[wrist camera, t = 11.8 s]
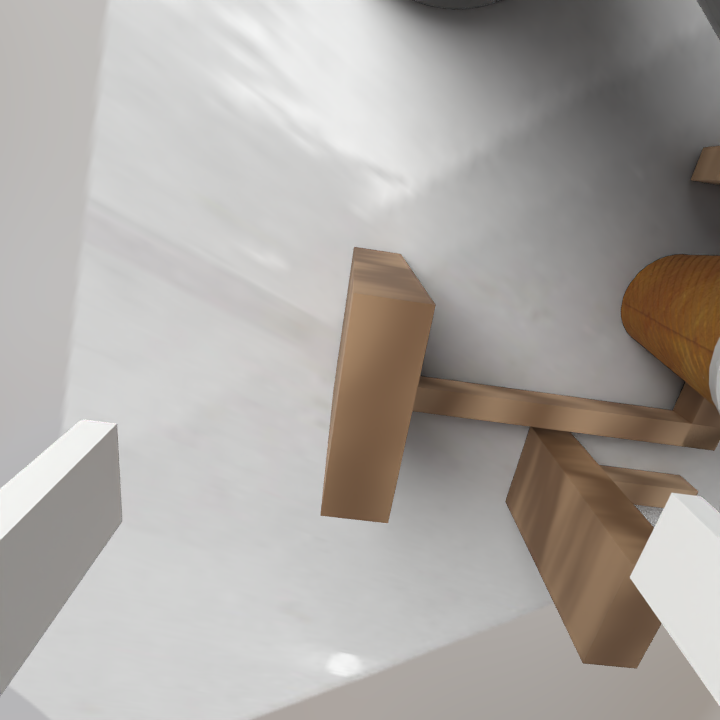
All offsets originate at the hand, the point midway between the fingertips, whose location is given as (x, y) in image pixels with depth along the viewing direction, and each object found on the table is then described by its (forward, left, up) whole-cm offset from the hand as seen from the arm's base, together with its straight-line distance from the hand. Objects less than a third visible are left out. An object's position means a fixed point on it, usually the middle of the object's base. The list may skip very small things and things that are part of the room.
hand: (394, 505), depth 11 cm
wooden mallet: (+11, +20, -20) cm, 31 cm away
